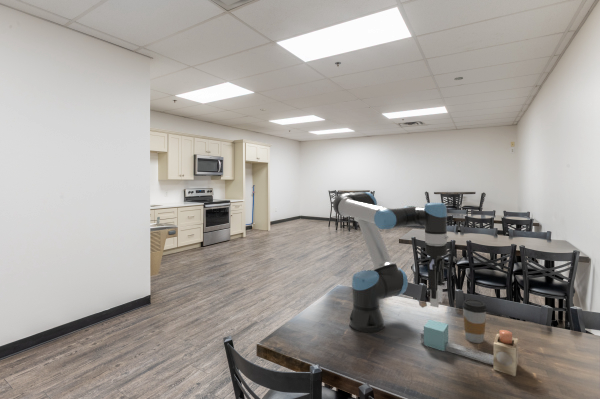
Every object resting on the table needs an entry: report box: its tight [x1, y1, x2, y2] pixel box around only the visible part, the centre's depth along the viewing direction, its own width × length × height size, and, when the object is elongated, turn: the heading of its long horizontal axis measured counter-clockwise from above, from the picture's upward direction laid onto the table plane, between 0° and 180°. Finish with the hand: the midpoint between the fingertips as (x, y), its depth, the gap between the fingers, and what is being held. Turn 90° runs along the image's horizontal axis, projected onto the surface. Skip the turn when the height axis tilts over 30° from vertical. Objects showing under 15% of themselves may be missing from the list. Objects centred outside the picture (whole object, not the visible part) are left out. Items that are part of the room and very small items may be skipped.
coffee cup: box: [462, 298, 488, 344], centre depth 119 cm, size 8×8×15 cm
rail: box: [420, 329, 494, 366], centre depth 111 cm, size 26×3×4 cm, turn 50°
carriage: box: [423, 319, 449, 352], centre depth 116 cm, size 7×7×8 cm
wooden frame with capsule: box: [492, 333, 519, 377], centre depth 101 cm, size 6×8×9 cm
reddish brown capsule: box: [498, 329, 513, 344], centre depth 101 cm, size 4×4×3 cm
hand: (436, 303), depth 115 cm, fingers open, 4 cm apart
